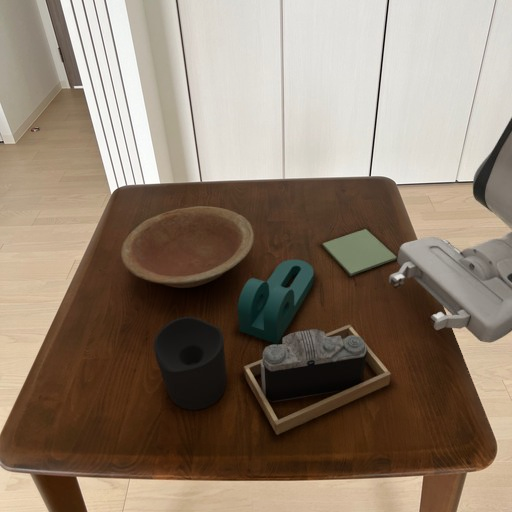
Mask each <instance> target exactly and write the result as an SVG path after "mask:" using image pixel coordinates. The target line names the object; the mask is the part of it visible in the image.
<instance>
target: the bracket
mask: <svg viewBox="0 0 512 512" xmlns="http://www.w3.org/2000/svg"><path fill="white" fill-rule="evenodd" d="M294 276H295V278H294V279H293V281H292V283H291V284H290V286H289V287H287V286H288V284H289V282H290V280H291V279H292V278H293V277H294ZM313 285H314V268H313V266H312V265H311V264H309V263H308V262H306V261H304V260H301V259H287V260H284V261H282V262H281V263H279V264H278V265H277V267H276V268H275V269H274V270H273V272H272V273H271V275H270V276H269V278H268V279H267V281H265V280H261V279H258V278H255V277H252V278H249V279H248V280H247V281H246V282H245V284H244V286H243V287H242V290H241V291H240V294H239V298H238V302H237V317H238V328H239V332H241V333H244V334H247V335H250V336H252V337H255V338H258V339H260V340H263V341H267V342H268V343H269V342H270V343H273V344H274V345H279V343H280V341H281V339H282V338H283V337H284V335H285V333H286V330H287V329H288V327H289V326H290V324H291V322H292V321H293V319H294V318H295V316H296V314H297V312H298V311H299V309H300V307H301V306H302V304H303V302H304V301H305V299H306V297H307V295H308V293H309V292H310V290H311V289H312V287H313Z"/></svg>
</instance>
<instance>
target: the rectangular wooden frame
mask: <svg viewBox="0 0 512 512" xmlns="http://www.w3.org/2000/svg"><path fill="white" fill-rule="evenodd" d="M325 334H326V336H327V337H333V336H341V339H345V338H346V337H348V336H352V335H355V336H359V337H360V338H362V337H361V336H360V335H359V333H357V331H356V330H355V329H354V328H353V326H352V325H351V324H347V325H345V326H341V327H339V328H337V329H335V330H332V331H329V332H327V333H325ZM365 345H366V347H367V355H366V361H365V363H367V365H368V366H369V367H370V368H371V369H372V371H373V372H374V373H375V375H376V376H374V377H372V378H370V379H367V380H365V381H362V383H360V384H358V385H356V386H354V387H351V388H349V389H347V390H343V391H339V392H338V393H335V394H333V395H331V396H329V397H327V398H324V399H322V400H320V401H318V402H316V403H313V404H310V405H308V406H306V407H304V408H302V409H299V410H297V411H295V412H292V413H290V414H288V415H285V416H284V417H282V418H278V417H277V415H276V414H275V413H276V412H275V411H274V410H273V408H272V406H271V404H270V403H269V402H270V401H269V400H268V398H267V397H266V396H265V395H264V394H263V392H262V387H261V386H260V385H259V383H258V382H257V380H256V378H255V377H257V376H259V375H261V362H263V358H262V359H259V360H257V361H254V362H251V363H249V364H247V365H244V366H243V372H244V378H245V380H246V382H247V384H248V385H249V387H250V389H251V391H252V393H253V395H254V397H255V399H256V400H257V402H258V404H259V406H260V408H261V409H262V411H263V413H264V415H265V417H266V419H267V420H268V422H269V424H270V425H271V427H272V430H273V432H274V433H275V434H276V436H278V435H280V434H283V433H284V432H287V431H289V430H291V429H294V428H296V427H298V426H300V425H303V424H305V423H307V422H309V421H312V420H313V419H315V418H318V417H321V416H322V415H325V414H327V413H329V412H331V411H334V410H336V409H338V408H340V407H342V406H344V405H347V404H349V403H351V402H353V401H355V400H358V399H361V398H362V397H365V396H367V395H369V394H372V393H373V392H375V391H378V390H380V389H383V388H384V387H387V386H389V385H390V381H391V376H392V373H391V372H390V371H389V369H387V367H386V366H385V364H383V362H382V361H381V360H380V359H379V358H378V357H377V355H376V354H375V353H374V352H373V351H372V349H371V348H370V347H369V346H368V344H367V343H366V342H365Z"/></svg>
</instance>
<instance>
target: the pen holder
mask: <svg viewBox="0 0 512 512" xmlns="http://www.w3.org/2000/svg"><path fill="white" fill-rule="evenodd" d="M224 342H225V341H224V333H223V332H222V329H221V328H220V327H219V326H218V325H215V324H212V323H209V322H208V321H205V320H203V319H200V318H197V317H194V316H182V317H177V318H176V319H174V320H171V321H170V322H168V323H167V324H165V325H164V326H163V327H162V328H160V330H159V331H158V332H157V334H156V336H155V338H154V342H153V352H154V353H153V354H154V356H155V359H156V361H157V366H158V368H159V371H160V374H161V377H162V380H163V384H164V386H165V389H166V392H167V394H168V396H169V398H170V400H171V401H172V402H173V403H174V404H175V405H176V406H178V407H179V408H181V409H185V410H190V411H196V410H203V409H207V408H208V407H210V406H213V405H214V404H215V403H216V402H218V401H219V400H220V398H222V396H223V394H224V393H225V390H226V387H227V368H226V367H227V366H226V356H225V355H226V354H225V353H226V352H225V343H224Z"/></svg>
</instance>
